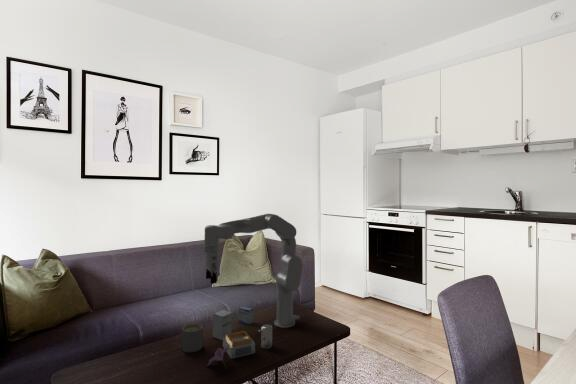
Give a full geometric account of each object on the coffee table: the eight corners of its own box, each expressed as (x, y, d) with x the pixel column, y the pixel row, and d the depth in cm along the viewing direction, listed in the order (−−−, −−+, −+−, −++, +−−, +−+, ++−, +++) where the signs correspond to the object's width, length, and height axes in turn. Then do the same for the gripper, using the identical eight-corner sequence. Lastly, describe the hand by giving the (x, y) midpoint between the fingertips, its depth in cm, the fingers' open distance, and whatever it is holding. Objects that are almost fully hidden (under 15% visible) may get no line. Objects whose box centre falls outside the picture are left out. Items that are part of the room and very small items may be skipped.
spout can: (269, 342, 171) (269, 323, 171) (273, 347, 166) (274, 327, 166) (255, 345, 168) (256, 326, 168) (260, 350, 163) (260, 330, 163)
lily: (233, 360, 155) (225, 340, 157) (239, 362, 145) (230, 341, 147) (209, 375, 149) (201, 354, 151) (214, 377, 139) (205, 355, 141)
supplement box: (221, 340, 173) (221, 316, 173) (212, 336, 177) (212, 313, 177) (232, 335, 179) (232, 312, 179) (222, 332, 183) (223, 309, 183)
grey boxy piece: (244, 341, 173) (245, 328, 173) (255, 353, 160) (255, 340, 160) (222, 345, 167) (222, 333, 167) (231, 359, 154) (231, 345, 154)
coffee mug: (203, 350, 163) (204, 329, 162) (182, 353, 159) (183, 333, 159) (199, 338, 175) (200, 319, 175) (180, 341, 171) (180, 322, 171)
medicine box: (238, 322, 197) (238, 307, 197) (242, 319, 201) (242, 305, 201) (249, 325, 193) (249, 310, 193) (253, 322, 197) (253, 308, 197)
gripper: (223, 251, 168) (222, 284, 169) (214, 245, 184) (214, 276, 184) (208, 252, 165) (208, 286, 165) (200, 246, 180) (200, 277, 180)
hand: (211, 280), depth 174 cm, fingers open, 9 cm apart
